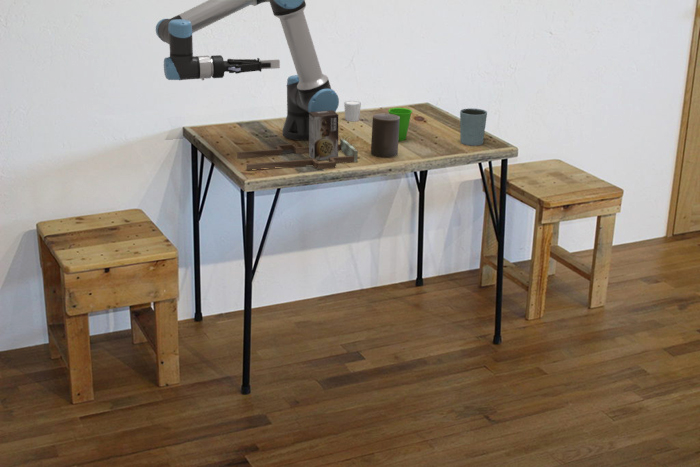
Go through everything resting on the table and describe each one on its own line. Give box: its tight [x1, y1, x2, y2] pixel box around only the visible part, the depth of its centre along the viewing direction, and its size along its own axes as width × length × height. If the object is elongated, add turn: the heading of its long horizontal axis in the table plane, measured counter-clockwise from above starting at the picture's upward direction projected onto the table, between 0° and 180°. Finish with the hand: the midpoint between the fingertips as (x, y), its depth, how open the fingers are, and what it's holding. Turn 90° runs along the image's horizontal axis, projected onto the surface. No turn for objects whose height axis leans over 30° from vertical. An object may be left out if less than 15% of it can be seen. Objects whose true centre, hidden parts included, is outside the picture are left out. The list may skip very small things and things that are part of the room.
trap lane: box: [236, 138, 359, 171], centre depth 318 cm, size 25×39×4 cm, turn 109°
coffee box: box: [308, 110, 339, 161], centre depth 319 cm, size 9×6×16 cm
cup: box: [387, 107, 413, 142], centre depth 344 cm, size 9×9×11 cm
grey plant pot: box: [459, 107, 488, 147], centre depth 342 cm, size 10×10×12 cm
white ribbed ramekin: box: [343, 100, 362, 122], centre depth 369 cm, size 7×7×7 cm
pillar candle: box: [370, 112, 400, 158], centre depth 325 cm, size 10×10×15 cm
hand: (279, 63), depth 313 cm, fingers closed
